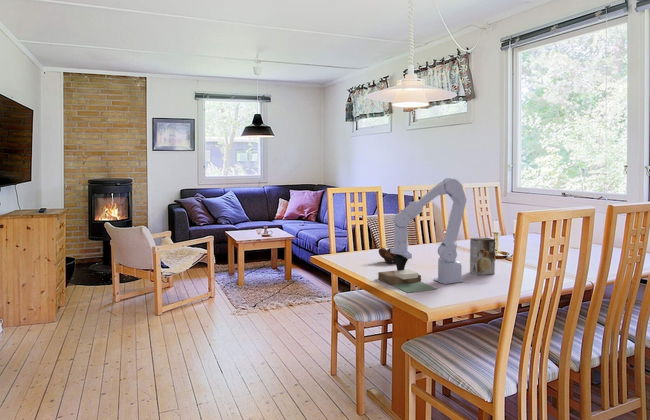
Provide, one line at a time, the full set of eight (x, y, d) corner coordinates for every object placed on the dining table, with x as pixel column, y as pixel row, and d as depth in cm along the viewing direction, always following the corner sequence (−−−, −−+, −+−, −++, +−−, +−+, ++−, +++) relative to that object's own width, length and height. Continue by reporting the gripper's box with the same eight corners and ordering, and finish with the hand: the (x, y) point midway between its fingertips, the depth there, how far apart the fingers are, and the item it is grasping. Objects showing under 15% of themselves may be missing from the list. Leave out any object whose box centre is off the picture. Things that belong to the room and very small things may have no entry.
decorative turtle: (375, 261, 241) (376, 246, 241) (403, 262, 244) (404, 247, 243) (380, 264, 232) (381, 248, 231) (409, 265, 234) (410, 249, 234)
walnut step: (405, 276, 210) (405, 269, 209) (420, 282, 199) (420, 275, 198) (378, 279, 205) (378, 272, 204) (392, 285, 193) (392, 278, 193)
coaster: (408, 273, 201) (408, 269, 201) (417, 277, 194) (418, 273, 194) (394, 275, 198) (394, 270, 198) (403, 279, 192) (403, 274, 192)
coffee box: (486, 271, 218) (487, 237, 217) (494, 274, 212) (495, 239, 211) (469, 272, 216) (470, 238, 215) (476, 275, 210) (477, 240, 209)
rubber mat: (420, 282, 199) (420, 281, 199) (437, 289, 188) (437, 288, 188) (392, 285, 193) (392, 284, 193) (407, 292, 182) (407, 292, 182)
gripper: (384, 239, 204) (384, 269, 206) (401, 244, 191) (401, 276, 192) (398, 238, 207) (398, 268, 208) (416, 243, 193) (415, 275, 195)
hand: (400, 272), depth 200 cm, fingers closed
